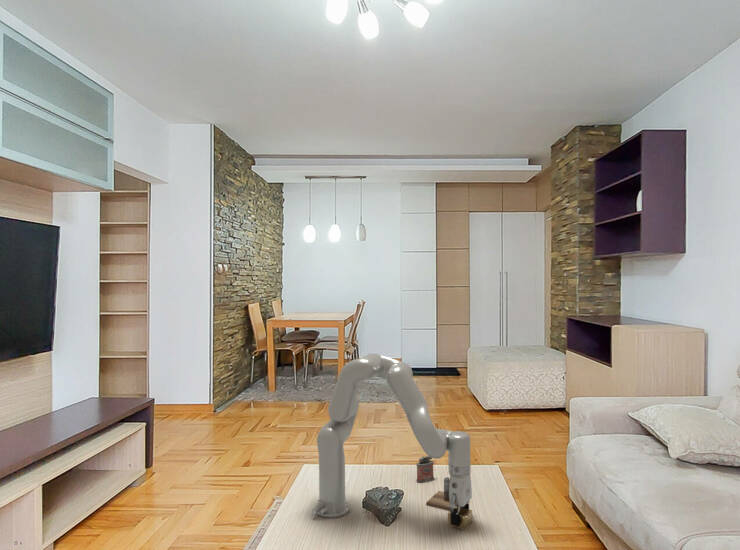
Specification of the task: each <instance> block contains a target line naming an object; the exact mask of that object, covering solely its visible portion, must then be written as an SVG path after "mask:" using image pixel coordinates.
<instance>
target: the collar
mask: <svg viewBox="0 0 740 550" xmlns="http://www.w3.org/2000/svg"><path fill="white" fill-rule="evenodd" d="M454 508H456V510H457V507H456V506H454ZM459 514H460V526H459V527H458V526H455V525H451V513H450V511H448V512H447V526H449V527H453V528H458V529H462V530H464V531H465V530H467V529H468V528H469V527H470V525H471V523H473V510H472V509H470V508H469V509H465V508H461V507H460V510H459Z"/></svg>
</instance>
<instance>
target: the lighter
mask: <svg viewBox="0 0 740 550" xmlns="http://www.w3.org/2000/svg"><path fill="white" fill-rule="evenodd" d="M432 459H433V458H431V457H429V456H428V455H427V456H421V457H419V458H418V462H417V463H416V483H418V484H425V483H429V482H432V481H434V480H435V477H434V461H433V460H432Z"/></svg>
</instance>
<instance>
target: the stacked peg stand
mask: <svg viewBox="0 0 740 550" xmlns="http://www.w3.org/2000/svg"><path fill="white" fill-rule="evenodd" d="M449 485H450V477H444V478H443V491H441V490H438V491H437V492H436V493H434V494H433V495H432V497H430V498H429V499H428V500H427V501H426V502H425V503H426V504H425V506H427V507H428V506H429V507H432V508H436V509H441V510H445V511H448V512H449V511H450V508H449V504H450V502H449ZM455 504H458V503H456V502H455Z"/></svg>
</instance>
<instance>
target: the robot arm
mask: <svg viewBox="0 0 740 550" xmlns="http://www.w3.org/2000/svg"><path fill="white" fill-rule="evenodd" d="M375 378H379V379H383V380H385V381H386V383H387V384H388V385H387V386H389V389H390V390H391V391H392V393H393V394H394V397H395V398H396V400H397V402H398V403H399V405H400V406H401V408H402V410H403V411H404V414H405V415H406V419H407V421H408V423H409V425H410V427H411V431H412V432H413V435H414V437H415V439H416V440H417V443H419V446H420V447H421V448H422V451H423V452H424V453H425V454H426V455H427V456H429V457H431V458H432V459H433V460H434V459H435V460H437V459H441V458H442V457H444V455H445V454H446V452H447V453H448V457H447V458H448V459H447V461H448V474H449V479H450V485H449V502H450V504H449V508H450V513H451V525H455V526H458V527H459V526H460V514H459V510H460V507H461V508H465V509H469V510H470V500H471V499H472V497H473V493H472V492H473V491H472V479H471V472H472V471H471V436H470V435H469V433H467V432H465V431H460V430H456V431H452V430H447V429H442V428H436V427H435V426H434V423H433V422H432V419H431V416H430V413H429V407H428V403H427V400H426V398H425V396H424V394H423V393H422V391H421V390H420V388H419V387H418V385H417V383H416V382H415V380H414V379H413V370H412V367H411V366H410V365H409V364H408V363H406V362H404V361H400V360H397V359H394V358H391V357H388V356H385V355H382V354H379V353H369V354H366V355H364V356H363V357H360V358H356V359H353V360H349V361H347V362H346V363H345V364H344V365H343V366H342V368H341V370H340V371H339V374H338V377H337V379H336V380H337V381H336V384H335V385H334V389H333V393H332V395H331V399H330V401H329V404H328V410H327V413H328V415H329V420H328V422H326V423H325V424H324V425H323V426H322V427H321V428H320V430H319V431H318V434H317V438H316V446H317V450H318V476H319V477H318V485H319V486H318V491H319V492H318V494H319V495H318V498H319V499H318V501H317V504H316V505H315V506H314V508H312V509H311V513H312V514H313V515H316V514H317V515H318V516H319V517H323V518H330V519H331V518H332V519H333V518H339V517H343V516H345V515H346V514H348V513H349V511H350V504H349V503H348V502H347V501H346V457H345V449H344V444H345V442H346V441H347V440H348V439H349V437H350V436H351V434H352V431H353V428H354V427H353V426H354V425H355V421H356V418H357V415H358V411H359V407H360V401H359V398H358V393H359V389H360V384H361V383H362V382H365V381H371V380H373V379H375ZM455 502H456V503H458V504H455ZM454 506H456V507H457V510H456V508H454Z"/></svg>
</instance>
